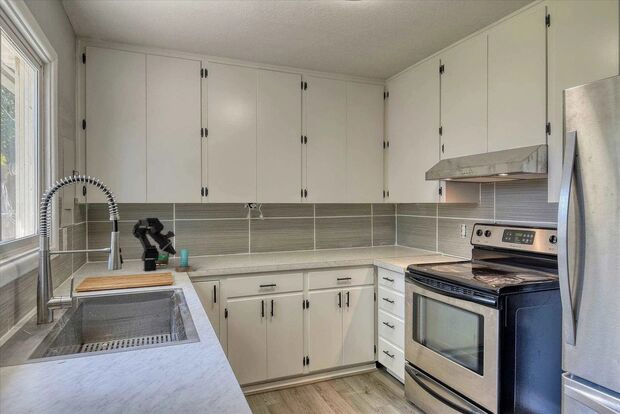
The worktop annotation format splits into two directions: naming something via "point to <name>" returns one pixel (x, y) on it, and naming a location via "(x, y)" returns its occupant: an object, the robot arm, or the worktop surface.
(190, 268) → the socket plate
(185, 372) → the worktop surface
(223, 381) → the worktop surface
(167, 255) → the food container
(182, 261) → the peg
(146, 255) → the robot arm
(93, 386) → the worktop surface
